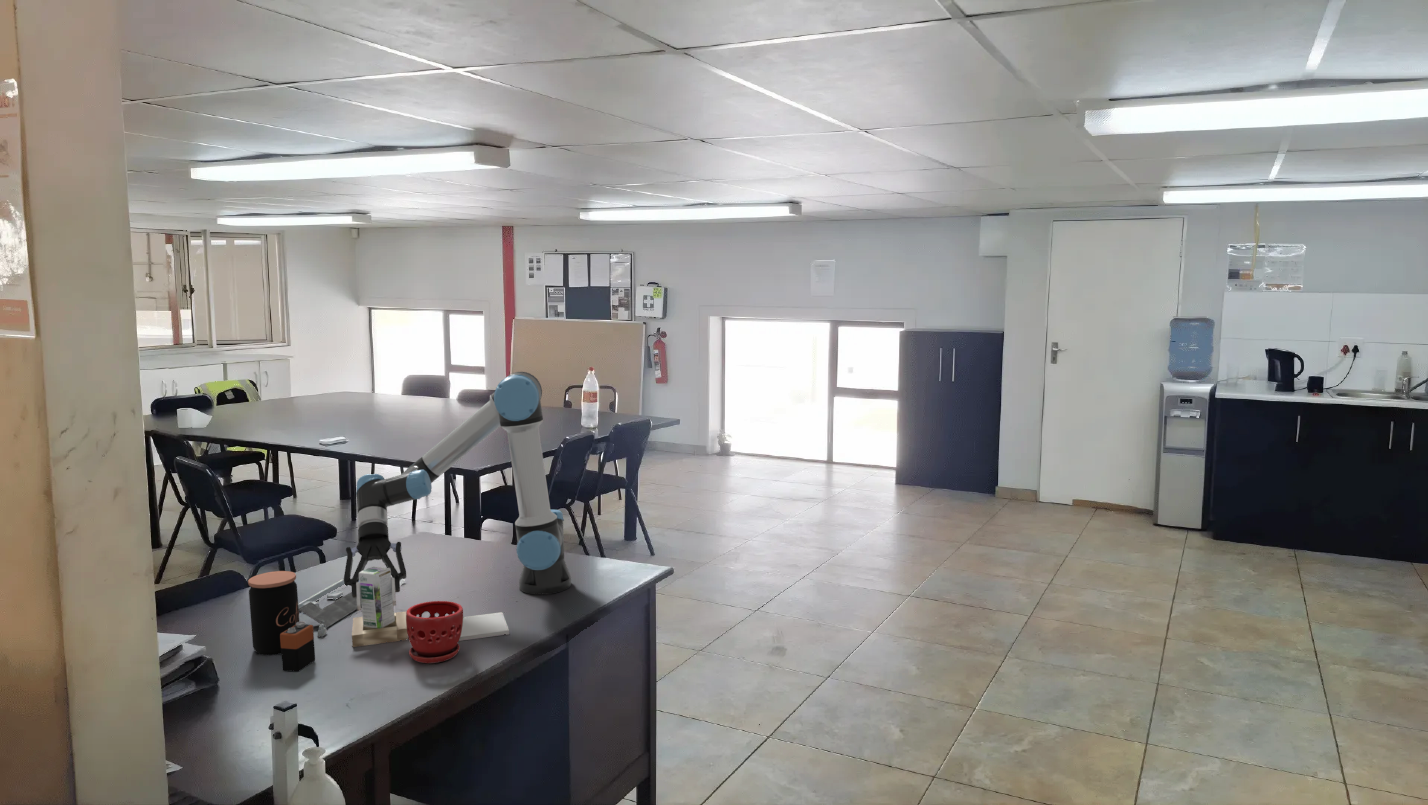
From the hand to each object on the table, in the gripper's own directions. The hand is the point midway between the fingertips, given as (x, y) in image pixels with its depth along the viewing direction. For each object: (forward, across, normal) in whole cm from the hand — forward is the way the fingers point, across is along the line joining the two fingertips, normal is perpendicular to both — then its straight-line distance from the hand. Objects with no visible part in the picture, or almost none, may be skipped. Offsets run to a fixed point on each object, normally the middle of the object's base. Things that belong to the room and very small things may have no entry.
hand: (376, 605), depth 228 cm
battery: (+14, +18, +1) cm, 23 cm away
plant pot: (+18, -13, +5) cm, 23 cm away
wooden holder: (+4, 0, -8) cm, 9 cm away
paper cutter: (-15, +11, -28) cm, 34 cm away
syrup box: (+2, 0, -7) cm, 7 cm away
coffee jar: (+4, +24, -8) cm, 25 cm away
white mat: (+8, -24, -5) cm, 26 cm away
